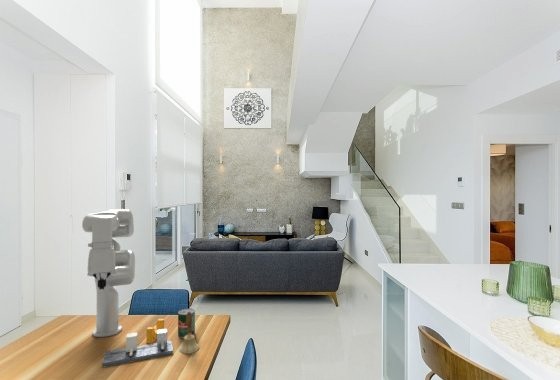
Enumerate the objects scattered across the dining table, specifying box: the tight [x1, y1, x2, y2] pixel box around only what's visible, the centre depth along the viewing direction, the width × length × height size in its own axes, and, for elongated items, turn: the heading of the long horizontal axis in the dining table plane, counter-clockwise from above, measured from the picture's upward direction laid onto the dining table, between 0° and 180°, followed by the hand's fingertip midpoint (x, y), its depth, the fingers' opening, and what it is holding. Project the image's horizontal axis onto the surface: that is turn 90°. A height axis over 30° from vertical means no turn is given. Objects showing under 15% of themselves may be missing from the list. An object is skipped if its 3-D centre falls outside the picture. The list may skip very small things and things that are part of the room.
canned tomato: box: [177, 308, 196, 339], centre depth 151 cm, size 8×8×11 cm
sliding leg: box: [125, 332, 138, 356], centre depth 131 cm, size 8×4×6 cm, turn 23°
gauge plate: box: [101, 328, 174, 368], centre depth 132 cm, size 10×26×8 cm, turn 113°
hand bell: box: [178, 312, 200, 355], centre depth 137 cm, size 8×8×16 cm
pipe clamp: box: [145, 318, 165, 344], centre depth 149 cm, size 12×4×6 cm, turn 174°
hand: (101, 288), depth 135 cm, fingers closed
